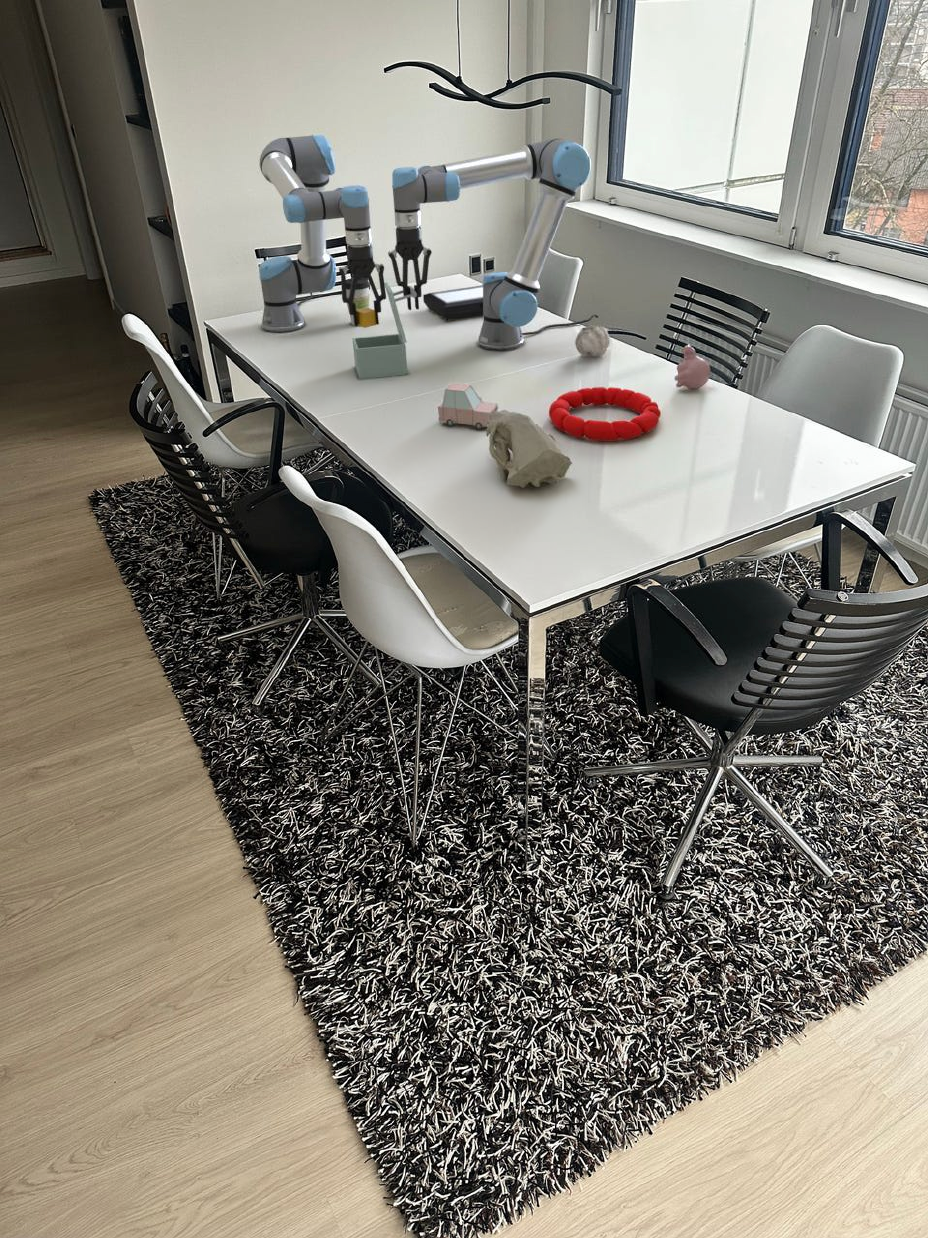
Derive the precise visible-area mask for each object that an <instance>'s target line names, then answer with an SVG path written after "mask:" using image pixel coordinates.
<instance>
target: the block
mask: <svg viewBox="0 0 928 1238" xmlns="http://www.w3.org/2000/svg"><path fill="white" fill-rule="evenodd" d="M356 315H357V325H358V326H357V327H361V328H364V329H366V328H371V327H374V326H377V325H376V315H375V310H374V309H373V308H370V307H369V308H363V309H359V310H356Z"/></svg>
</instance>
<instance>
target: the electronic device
mask: <svg viewBox="0 0 928 1238" xmlns="http://www.w3.org/2000/svg"><path fill="white" fill-rule="evenodd" d="M422 297H423V304H425V306H426V307H427V309H428V310H429V311H430V312H432V313H434V314H435V315H436V316H439V317H440V318H441V319H444V320H445V321H447V322H448V321H455V320H461V319H466V318H475V317H480V316H483V286H482V284H481V285H476V286H469V287H462V288H455V289H448V290H441V291H440V290H439V291H435V292H428V293H425V294H422Z"/></svg>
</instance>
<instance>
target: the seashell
mask: <svg viewBox="0 0 928 1238" xmlns="http://www.w3.org/2000/svg"><path fill="white" fill-rule="evenodd" d="M610 337H611V336H610V334H609V332H608V331H607V329H606V328H605V327H604V325H597V324H596V325H595V324H587V326H586V327H585V326H584V327H582V328H581V329H580V330H579V332H578V333H577V335H576V337H575V341H574V344H575V347H576V350H577V352H578V353H579V354H580V355H581V356H583V357H586V358H587V357H591V356H592V357H601V356H603V355H604V354H605V353H606V352H607V351H608V350H607V349H608V348H609V346H610V343H611V338H610Z"/></svg>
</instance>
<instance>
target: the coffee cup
mask: <svg viewBox="0 0 928 1238" xmlns="http://www.w3.org/2000/svg"><path fill="white" fill-rule="evenodd" d="M351 283H352V277H351V278H346V294H347V298H349V293H350V288H351ZM370 287H371V285H370V283H369V280H368V278H359V279H358V281H357V285H356V290H355V295H354V300H353V302H355V305H356V310H359V309H363V308H370ZM346 305H347V310H348V314H349V318H350V323H351V325H353V326H355V325H354V317H353V315H350V312H349V304H348V303H346ZM356 327H359V326H358V325H357V326H356Z"/></svg>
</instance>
